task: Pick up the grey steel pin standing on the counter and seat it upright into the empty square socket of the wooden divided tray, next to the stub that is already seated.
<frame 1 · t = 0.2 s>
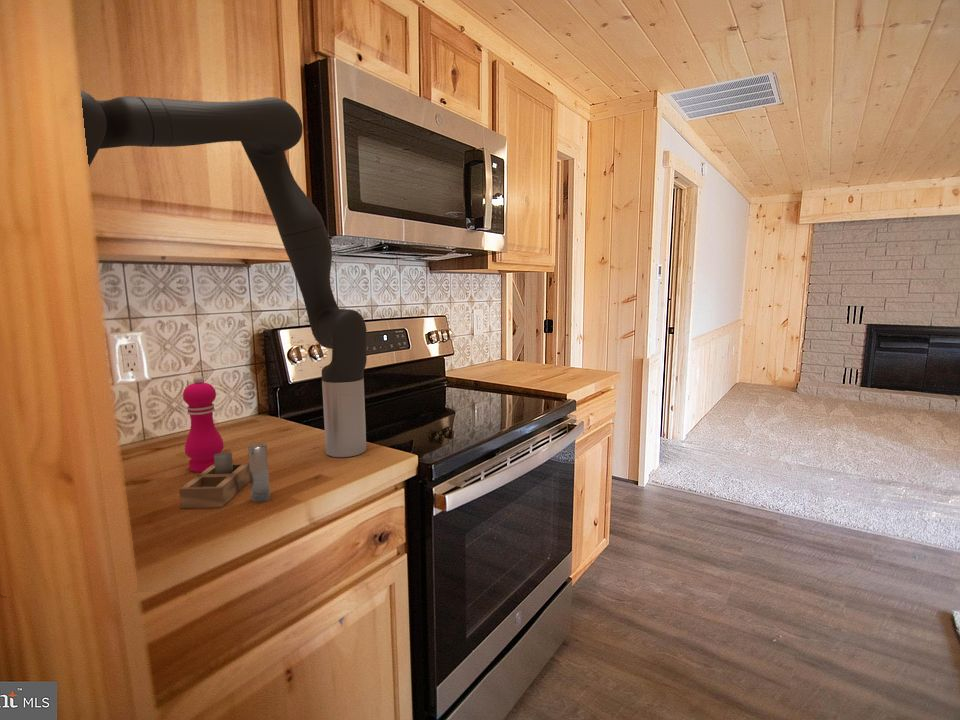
wooden divided tray: (218, 493, 90), on the countertop
pepper mill: (206, 467, 103), on the countertop
pin: (261, 498, 87), on the countertop
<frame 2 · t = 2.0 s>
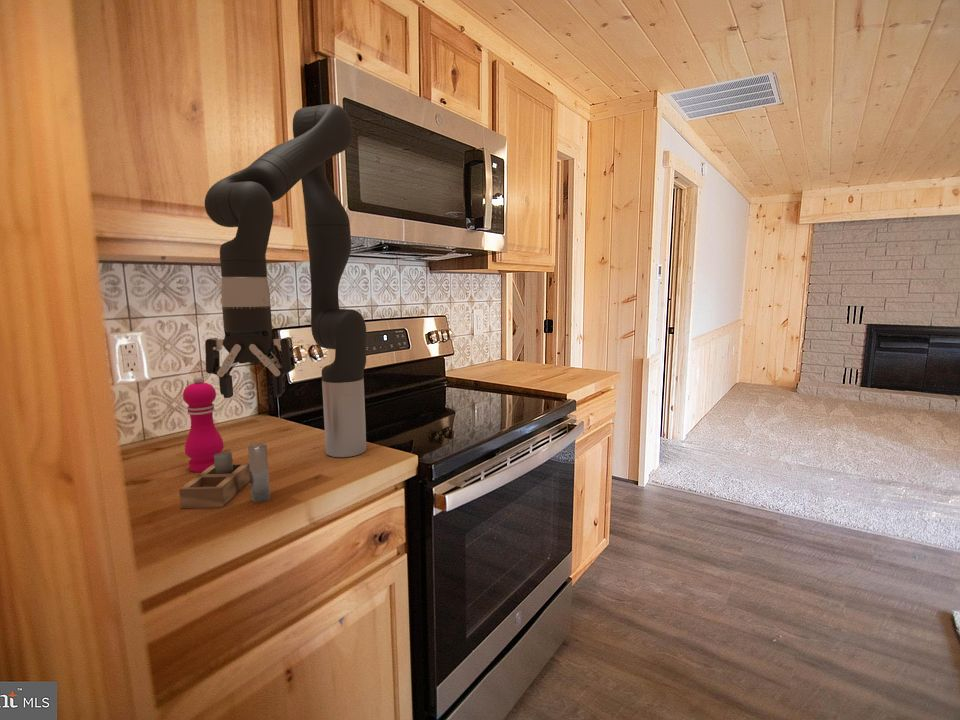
hand: (253, 396, 84), 19 cm above the countertop, tool pointing down, fingers open, 8 cm apart
nothing on the countertop moved.
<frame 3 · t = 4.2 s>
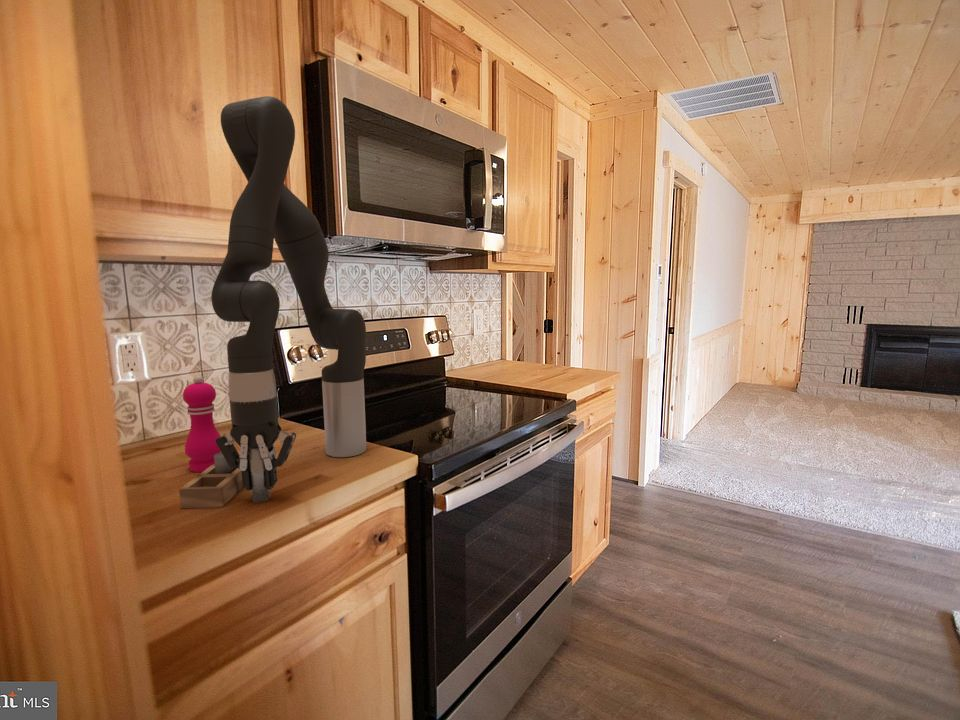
hand: (260, 487, 87), 2 cm above the countertop, tool pointing down, fingers closed on pin, 3 cm apart
pin: (261, 498, 87), on the countertop, touching gripper
everything else where it was.
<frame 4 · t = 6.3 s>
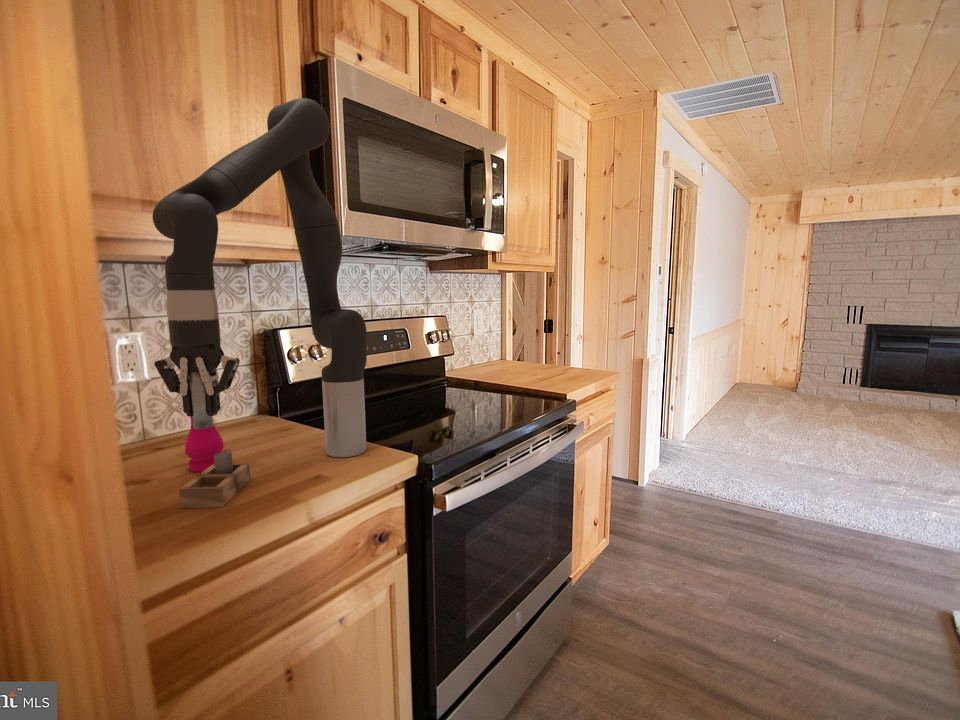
hand: (202, 414, 84), 16 cm above the countertop, tool pointing down, fingers closed on pin, 3 cm apart
pin: (203, 426, 85), point 14 cm above the countertop, touching gripper
everything else where it was.
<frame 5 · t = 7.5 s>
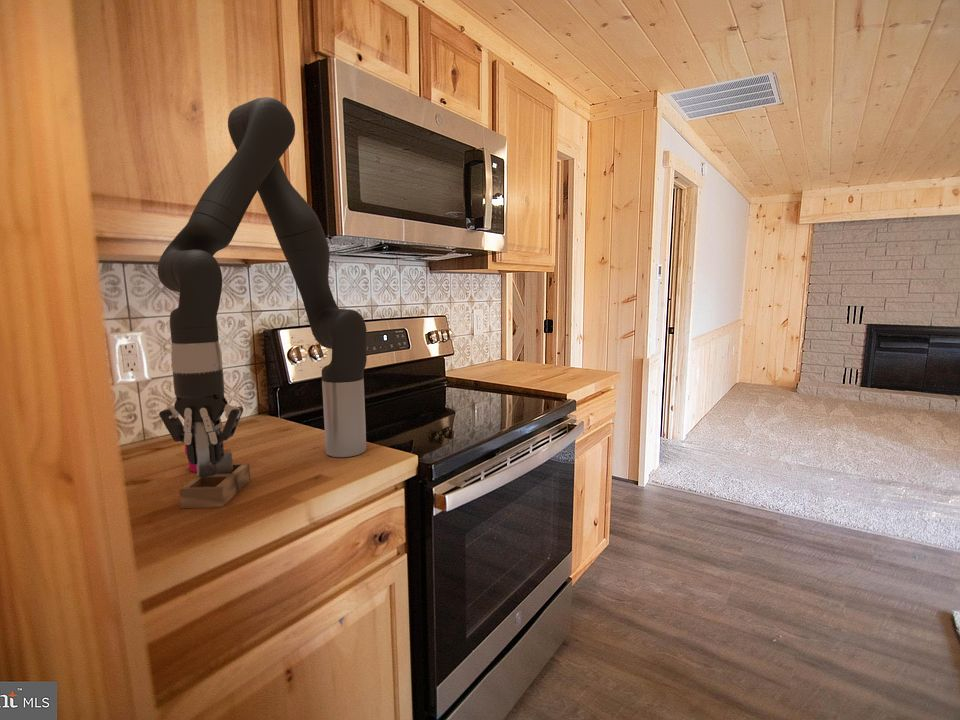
hand: (206, 462, 86), 7 cm above the countertop, tool pointing down, fingers closed on pin, 3 cm apart
pin: (207, 474, 86), point 5 cm above the countertop, touching gripper
everything else where it was.
when the fingers open (4 cm above the countertop, at t = 8.3 s): pin drops 2 cm, resting in wooden divided tray.
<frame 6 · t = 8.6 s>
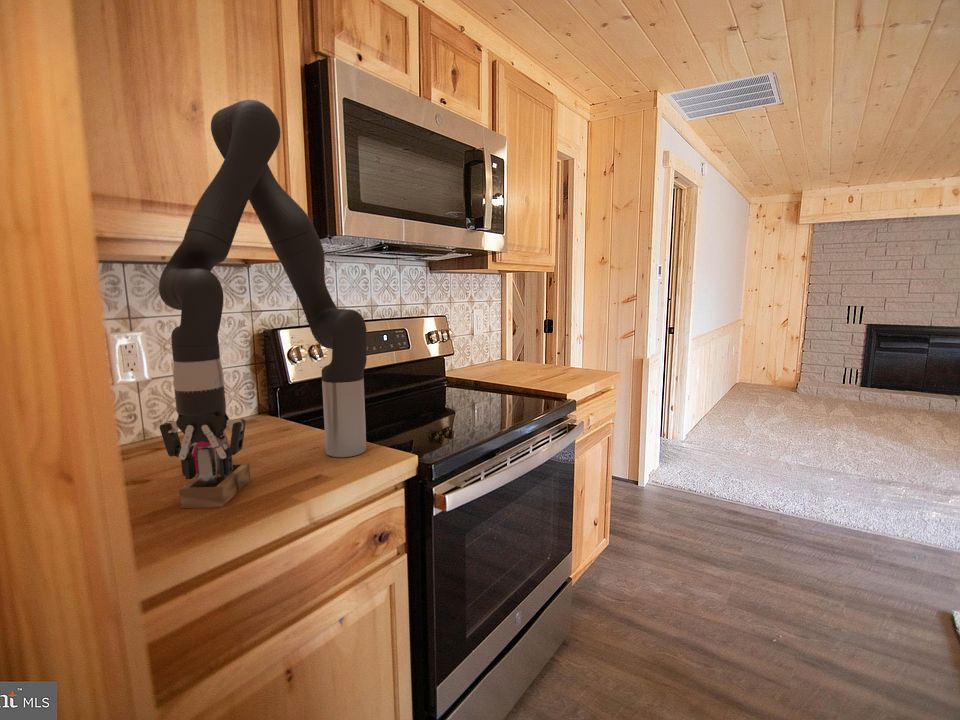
hand: (208, 476, 86), 4 cm above the countertop, tool pointing down, fingers open, 5 cm apart
pin: (210, 500, 87), resting in wooden divided tray
everything else where it was.
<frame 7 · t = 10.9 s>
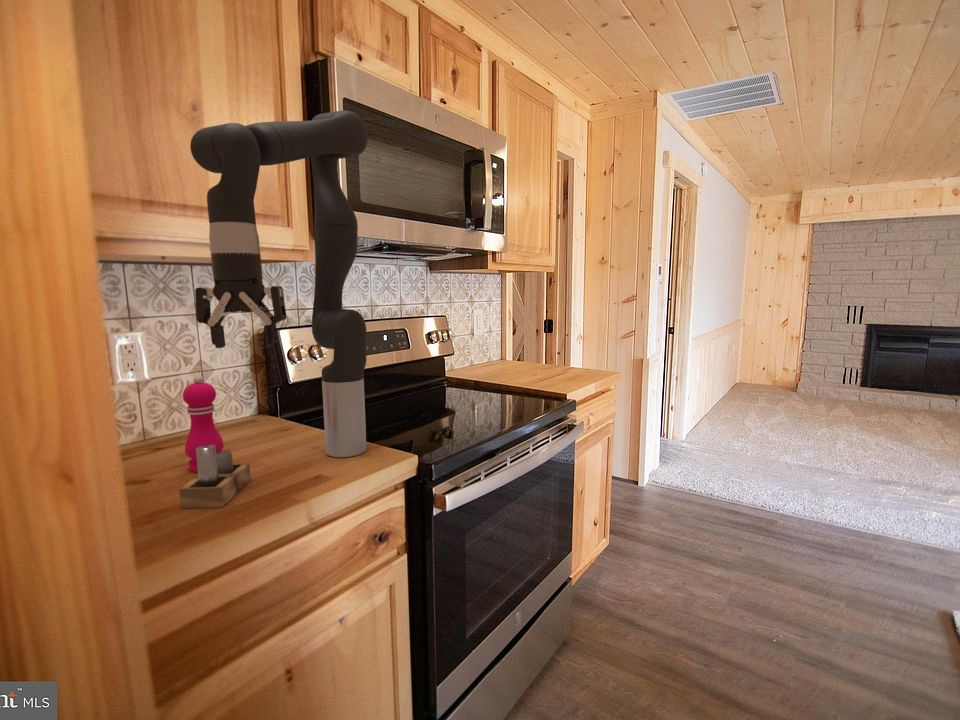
hand: (245, 346, 84), 28 cm above the countertop, tool pointing down, fingers open, 8 cm apart
nothing on the countertop moved.
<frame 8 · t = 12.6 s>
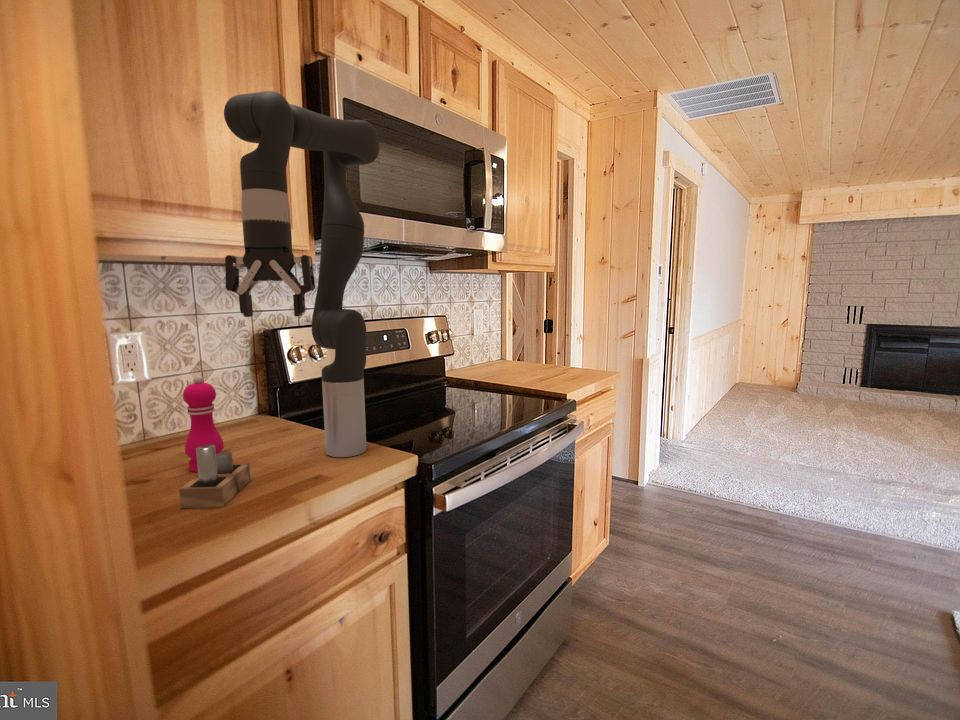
hand: (273, 316, 84), 33 cm above the countertop, tool pointing down, fingers open, 8 cm apart
nothing on the countertop moved.
at the end: pin 0.1 cm from the target spot on the wooden divided tray, point 0.0 cm above the wooden divided tray's base; pin tilted 0°; the gripper is holding nothing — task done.
